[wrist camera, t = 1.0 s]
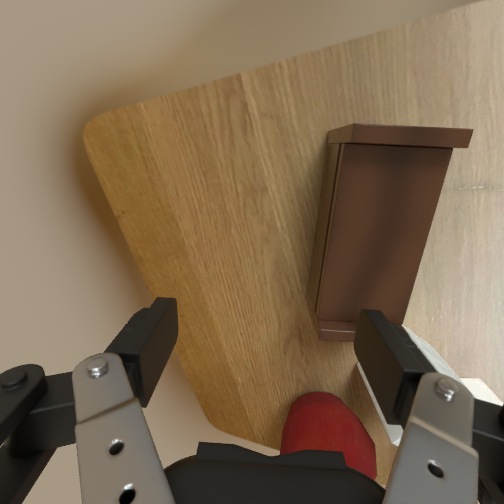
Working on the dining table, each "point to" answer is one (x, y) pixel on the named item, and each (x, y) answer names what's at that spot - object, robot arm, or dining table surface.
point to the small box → (437, 362)
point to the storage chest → (375, 220)
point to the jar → (487, 395)
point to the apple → (328, 431)
